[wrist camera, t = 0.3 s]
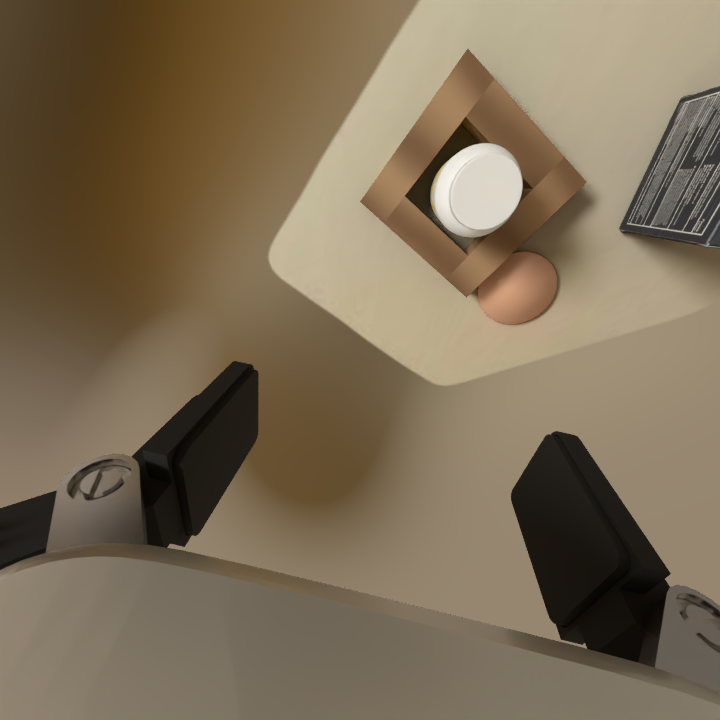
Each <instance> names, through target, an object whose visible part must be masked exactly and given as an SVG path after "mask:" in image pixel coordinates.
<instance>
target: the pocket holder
mask: <svg viewBox="0 0 720 720" xmlns="http://www.w3.org/2000/svg"><path fill="white" fill-rule="evenodd" d="M460 123H461V124H462V125H463V126H464V127H465V128H466V129H467V130H468V131H469V132H470V133H471V134H472V136H473V137H474V138H475V139H476V140H477V141H478V142H479V143H491V144H496V145H499V146H501V147H503V148H505V149H506V150H508V151H509V152H510V153H511V154H512V155H513V156H514V158H515V159H516V161H517V163H518V165H519V167H520V170H521V175H522V181H523V189H522V195H521V198H520V201H519V203H518V206H517V207H516V209H515V210H514V212H513V213H512V215H511V216H510V217H509V219H508V220H507V221H506V222H505V223H504V224H503V225H502V226H500V227H499V228H498V229H496V230H495V231H493V232H491V233H489V234H487V235H484V236H480V237H477V238H476V239H475V240H474V241H473V242H472V243H471V244H470V245H469V246H468V247H467V248H466V249H465V250H463V249H462V248H461V247H459V246H458V245H457V244H456V243H455V242H454V241H453V240H452V239H451V238H450V237H449V236H448V235H447V234H446V233H445V232H444V231H442V230H441V229H440V228H439V227H438V226H437V225H436V224H435V223H434V222H433V221H432V220H431V219H430V218H429V217H428V216H426V215H425V214H424V213H423V212H422V211H421V210H420V209H419V208H418V207H417V206H416V205H415V204H414V203H413V202H412V201H411V200H409V199H408V198H407V197H406V196H405V195H406V194H407V192H408V191H409V190H410V188H411V187H412V186H413V184H414V183H415V182H416V181H417V179H418V178H419V177H420V175H421V174H422V173H423V171H424V170H425V169H426V168H427V166H428V165H429V164H430V162H431V161H432V160H433V158H434V157H435V156H436V155H437V153H438V152H439V151H440V149H441V148H442V147H443V145H444V144H445V143H446V142H447V140H448V139H449V138H450V136H451V135H452V134H453V132H454V131H455V130H456V129H457V127H458V126H459V125H460ZM585 183H586V181H585V180H584V179H583V178H582V177H581V175H580V174H579V173H578V172H577V171H576V170H575V169H574V168H573V166H572V165H571V164H570V163H569V162H568V161H567V160H566V159H565V157H564V156H563V155H562V154H561V153H560V152H559V151H558V150H557V148H556V147H555V146H554V145H553V144H552V143H551V142H550V141H549V139H548V138H547V137H546V136H545V135H544V134H543V133H542V132H541V130H540V129H539V128H538V127H537V126H536V125H535V124H534V123H533V121H532V120H531V119H530V118H529V117H528V116H527V115H526V114H525V112H524V111H523V110H522V109H521V108H520V107H519V106H518V104H517V103H516V102H515V101H514V100H513V99H512V98H511V97H510V95H509V94H508V93H507V92H506V91H505V90H504V89H503V88H502V86H501V85H500V84H499V83H498V82H497V81H496V80H495V79H494V77H493V76H492V75H491V74H490V73H489V72H488V71H487V70H486V68H485V67H484V66H483V65H482V64H481V63H480V62H479V61H478V59H477V58H476V57H475V56H474V55H473V54H472V53H471V52H470V50H469V49H467V51H466V52H465V53H464V55H463V56H462V58H461V59H460V60H459V62H458V63H457V65H456V66H455V68H454V69H453V70H452V72H451V73H450V75H449V76H448V78H447V79H446V80H445V82H444V83H443V85H442V86H441V88H440V89H439V90H438V92H437V93H436V95H435V96H434V97H433V99H432V100H431V102H430V103H429V105H428V106H427V107H426V109H425V110H424V112H423V113H422V115H421V116H420V117H419V119H418V120H417V122H416V123H415V124H414V126H413V127H412V129H411V130H410V132H409V133H408V134H407V136H406V137H405V139H404V140H403V142H402V143H401V144H400V146H399V147H398V149H397V150H396V152H395V153H394V154H393V156H392V157H391V159H390V160H389V161H388V163H387V164H386V166H385V167H384V169H383V170H382V171H381V173H380V174H379V176H378V177H377V179H376V180H375V181H374V183H373V184H372V186H371V187H370V189H369V190H368V191H367V193H366V194H365V196H364V197H363V198H362V200H361V201H360V202H361V203H362V204H363V205H364V206H366V207H367V208H368V209H369V210H370V211H371V212H372V213H373V214H374V215H376V216H377V217H378V218H379V219H380V220H381V221H382V222H383V223H384V224H386V225H387V226H388V227H389V228H390V229H391V230H392V231H393V232H394V233H396V234H397V235H398V236H399V237H400V238H401V239H402V240H403V241H404V242H406V243H407V244H408V245H409V246H410V247H411V248H412V249H413V250H414V251H416V252H417V253H418V254H419V255H420V256H421V257H422V258H423V259H424V260H426V261H427V262H428V263H429V264H430V265H431V266H432V267H433V268H434V269H436V270H437V271H438V272H439V273H440V274H441V275H442V276H443V277H444V278H446V279H447V280H448V281H449V282H450V283H451V284H452V285H453V286H454V287H456V288H457V289H458V290H459V291H460V292H461V293H462V294H463V295H464V296H466V297H467V296H468V295H470V294H471V293H472V292H473V291H474V290H475V289H476V288H477V287H478V286H479V285H480V284H481V283H482V282H483V281H484V280H485V279H486V278H487V277H488V276H489V275H490V274H491V273H493V272H494V271H495V270H496V269H497V268H498V267H499V266H500V265H501V264H502V263H503V262H504V261H505V260H506V259H507V258H508V257H509V256H510V255H511V254H512V253H513V252H514V251H515V250H517V249H518V248H519V247H520V246H521V245H522V244H523V243H524V242H525V241H526V240H527V239H528V238H529V237H530V236H531V235H532V234H533V233H534V232H535V231H536V230H537V229H538V228H539V227H541V226H542V225H543V224H544V223H545V222H546V221H547V220H548V219H549V218H550V217H551V216H552V215H553V214H554V213H555V212H556V211H557V210H558V209H559V208H560V207H561V206H562V205H563V204H565V203H566V202H567V201H568V200H569V199H570V198H571V197H572V196H573V195H574V194H575V193H576V192H577V191H578V190H579V189H580V188H581V187H582V186H583V185H584V184H585Z"/></svg>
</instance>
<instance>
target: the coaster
mask: <svg viewBox="0 0 720 720" xmlns="http://www.w3.org/2000/svg"><path fill="white" fill-rule="evenodd" d="M556 289H557V275H556V272H555V269H554V267H553V266H552V264H551V263H550V262H549V261H548V260H547V259H546V258H544V257H542V256H541V255H538V254H536V253H533V252H527V251H519V252H513V253H512V254H511V255H510V256H509V257H508V258H507V259H506V260H505V261H504V262H503V263H502V264H501V265H500V266H499V267H498V268H497V269H496V270H495V271H494V272H493V273H491V274H490V275H489V276H488V277H487V278H486V279H485V280H484V281H483V282H482V283H481V284H480V285H479V286H478V301H479V304H480V306H481V308H482V310H483V311H484V313H485V314H486V315H487V316H488V317H490V318H491V319H493V320H494V321H497V322H499V323H503V324H518V323H523V322H526V321H529V320H531V319H533V318H534V317H536V316H538V315H539V314H540V313H542V312H543V311H544V310H545V309H546V308H547V307H548V305H549V304H550V303H551V301H552V299H553V297H554V295H555V292H556Z"/></svg>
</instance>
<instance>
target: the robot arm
mask: <svg viewBox="0 0 720 720" xmlns="http://www.w3.org/2000/svg"><path fill="white" fill-rule="evenodd" d="M257 436H258V371H257V370H254V368H253V366H252V365H251V364H246V363H241V362H237V361H234V362H232V363H231V364H230V365H229V366H228V367H227V368H226V369H225V370H224V371H223V372H222V373H221V374H220V375H219V376H218V377H217V378H216V379H215V380H214V381H213V382H212V383H211V384H210V385H209V386H208V387H207V388H206V389H204V390H203V392H202V393H201V394H199V395H196V396H195V397H193V398H192V399H191V400H190V401H189V402H188V403H187V404H186V405H185V406H184V407H183V408H182V409H181V410H180V411H178V412H177V413H176V414H175V415H174V416H173V417H172V418H171V419H170V420H169V421H168V422H167V423H166V424H165V425H164V426H163V427H162V428H161V429H160V430H159V431H158V432H157V433H156V434H155V435H154V436H152V438H150V440H148V441H147V442H146V443H145V444H144V445H143V446H142V447H141V448H140V449H139V450H138V451H137V452H136V453H135V454H134V455H133V456H132V457H131V456H128V455H124V454H109V455H102V456H99V457H96V458H93V459H90V460H88V461H86V462H84V463H82V464H80V465H78V466H77V467H75V468H74V469H73V470H71V471H70V472H69V473H68V474H67V475H66V476H65V477H64V478H63V480H62V481H61V482H60V485H59V487H58V489H57V491H54V492H50V493H47V494H44V495H41V496H38V497H35V498H31V499H28V500H25V501H22V502H19V503H16V504H13V505H9V506H7V507H3V508H0V720H720V606H719V605H718V604H717V603H715V602H714V601H713V600H711V599H710V598H708V597H706V596H705V595H703V594H701V593H700V592H698V591H696V590H693V589H691V588H689V587H687V586H680V585H675V586H672V587H670V586H669V585H668V583H667V582H666V580H665V578H666V577H667V576H669V575H670V572H669V571H668V569H667V568H666V566H665V564H664V563H663V562H662V560H661V559H660V557H659V556H658V554H657V553H656V552H655V550H654V548H653V547H652V545H651V544H650V542H649V541H648V539H647V538H646V536H645V535H644V534H643V532H642V530H641V529H640V528H639V526H638V525H637V523H636V522H635V520H634V519H633V517H632V516H631V514H630V513H629V511H628V510H627V508H626V507H625V505H624V504H623V503H622V501H621V499H620V498H619V497H618V495H617V494H616V492H615V491H614V489H613V488H612V486H611V485H610V483H609V482H608V480H607V479H606V478H605V476H604V474H603V473H602V471H601V470H600V468H599V467H598V466H597V464H596V462H595V461H594V460H593V458H592V457H591V455H590V454H589V452H588V451H587V449H586V448H585V446H584V445H583V443H582V442H581V440H580V439H579V438H578V437H577V436H575V435H571V434H567V433H562V432H558V431H556V432H553V433H552V434H551V435H547V436H545V438H544V440H543V441H542V443H541V444H540V446H539V447H538V449H537V451H536V452H535V454H534V456H533V457H532V459H531V460H530V462H529V464H528V466H527V467H526V469H525V470H524V472H523V474H522V475H521V477H520V478H519V480H518V482H517V483H516V485H515V487H514V488H513V490H512V493H511V501H512V504H513V507H514V510H515V514H516V516H517V520H518V522H519V526H520V529H521V532H522V535H523V538H524V541H525V544H526V547H527V551H528V554H529V557H530V559H531V563H532V566H533V569H534V572H535V575H536V578H537V581H538V584H539V588H540V591H541V594H542V597H543V600H544V603H545V606H546V609H547V612H548V615H549V618H550V619H551V621H552V622H553V623H555V624H556V626H557V629H558V632H559V635H560V638H561V640H565V641H569V642H573V643H578V644H582V645H583V644H584V643H585V644H586V646H587V649H585V648H582V647H578V646H574V645H570V644H566V643H563V642H559V641H555V640H550V639H547V638H543V637H538V636H534V635H531V634H527V633H523V632H519V631H515V630H511V629H507V628H503V627H499V626H495V625H491V624H487V623H483V622H479V621H475V620H471V619H467V618H463V617H459V616H455V615H451V614H447V613H443V612H439V611H435V610H431V609H426V608H423V607H419V606H415V605H410V604H407V603H402V602H399V601H394V600H390V599H386V598H382V597H378V596H374V595H370V594H366V593H361V592H358V591H354V590H350V589H346V588H341V587H337V586H333V585H329V584H325V583H321V582H317V581H312V580H308V579H304V578H300V577H296V576H292V575H287V574H283V573H279V572H275V571H271V570H267V569H262V568H258V567H254V566H250V565H246V564H241V563H237V562H232V561H227V560H223V559H219V558H214V557H209V556H205V555H200V554H196V553H191V552H186V551H182V550H176V549H170V548H167V547H168V546H169V544H170V543H171V544H175V545H179V546H183V547H185V545H186V544H187V542H188V541H189V539H190V537H191V536H192V535H194V536H196V535H198V534H199V533H200V531H201V530H202V528H203V527H204V525H205V523H206V521H207V520H208V518H209V517H210V515H211V514H212V512H213V510H214V509H215V507H216V505H217V504H218V502H219V500H220V499H221V497H222V496H223V494H224V492H225V491H226V489H227V487H228V486H229V484H230V482H231V481H232V479H233V478H234V476H235V474H236V473H237V471H238V469H239V468H240V466H241V464H242V463H243V461H244V460H245V458H246V456H247V455H248V453H249V451H250V450H251V448H252V447H253V445H254V443H255V441H256V439H257Z"/></svg>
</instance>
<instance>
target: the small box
mask: <svg viewBox="0 0 720 720" xmlns="http://www.w3.org/2000/svg"><path fill="white" fill-rule="evenodd" d="M619 229H620V231H621V232H622V233H635V234H640V235H645V236H650V237H656V238H661V239H667V240H672V241H678V242H684V243H689V244H695V245H700V246H704V247H711V248H720V86H719V87H715V88H712V89H709V90H706V91H703V92H699V93H697V94H694V95H688V96H684V97H683V98H681V99H680V101H679V103H678V105H677V108H676V110H675V112H674V114H673V116H672V118H671V120H670V122H669V124H668V126H667V128H666V131H665V133H664V135H663V137H662V139H661V141H660V143H659V145H658V147H657V150H656V152H655V154H654V156H653V158H652V160H651V162H650V164H649V166H648V169H647V171H646V173H645V175H644V177H643V179H642V181H641V183H640V185H639V188H638V190H637V192H636V194H635V196H634V198H633V200H632V202H631V204H630V207H629V209H628V211H627V213H626V215H625V217H624V220H623V222H622V224H621V226H620V228H619Z"/></svg>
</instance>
